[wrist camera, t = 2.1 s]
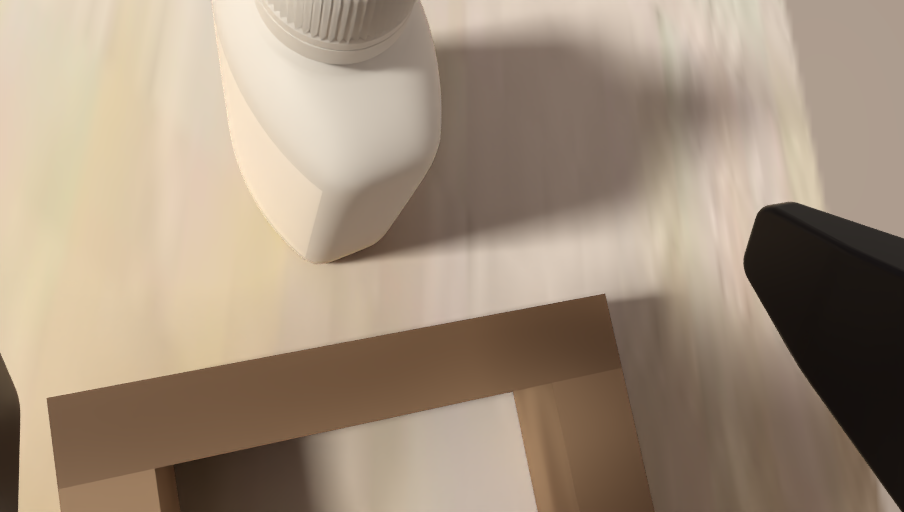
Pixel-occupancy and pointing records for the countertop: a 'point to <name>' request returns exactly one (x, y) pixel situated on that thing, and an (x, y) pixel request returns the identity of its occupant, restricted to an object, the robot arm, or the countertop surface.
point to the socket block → (370, 408)
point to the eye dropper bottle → (329, 114)
